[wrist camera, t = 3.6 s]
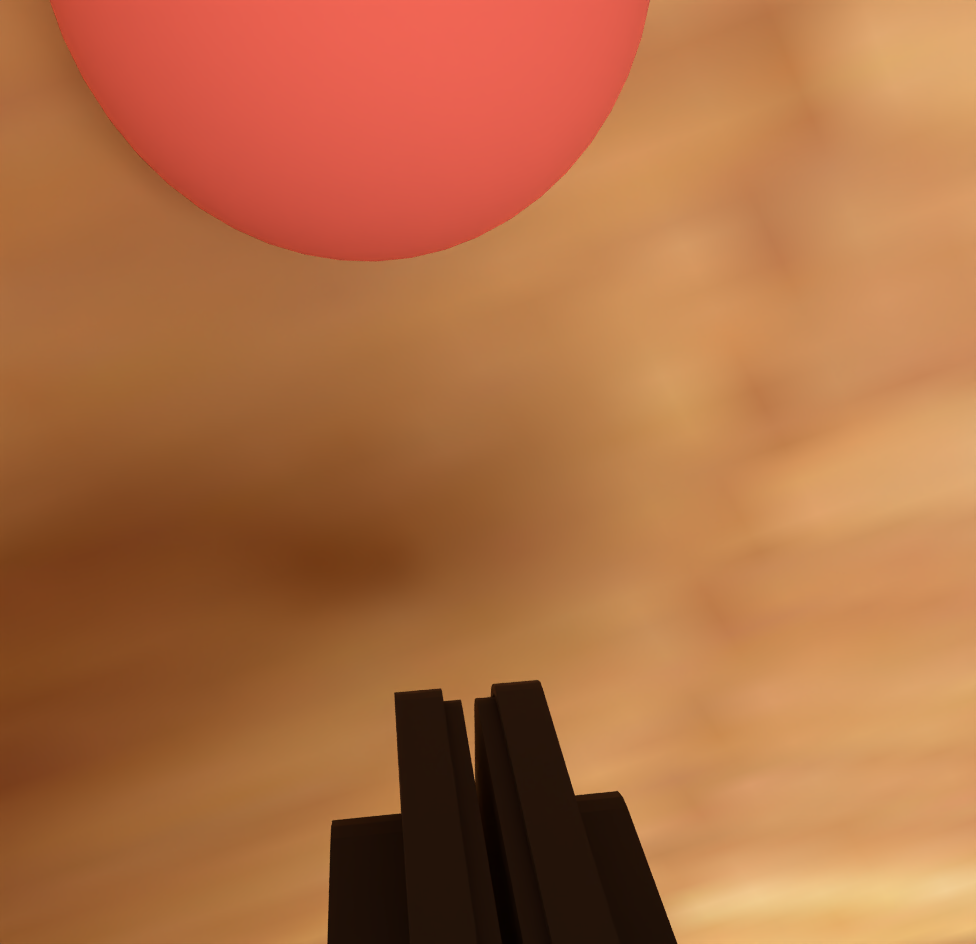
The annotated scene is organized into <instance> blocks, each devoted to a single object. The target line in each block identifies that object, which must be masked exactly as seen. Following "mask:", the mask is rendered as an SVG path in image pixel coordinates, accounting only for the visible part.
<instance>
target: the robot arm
mask: <svg viewBox="0 0 976 944" xmlns="http://www.w3.org/2000/svg"><path fill="white" fill-rule="evenodd" d="M394 695H395V713H396V731H397V749H398V766H399V784H400V801H401V814H391V815H381V816H372V817H362V818H352V819H342V820H333V821H332V826H331V844H330V878H329V911H328V944H677V941H676V939H675V936H674V933H673V931H672V928H671V925H670V922H669V920H668V917H667V914H666V911H665V909H664V906H663V903H662V901H661V898H660V895H659V892H658V890H657V887H656V884H655V882H654V879H653V876H652V873H651V871H650V868H649V865H648V862H647V860H646V857H645V854H644V852H643V849H642V846H641V843H640V841H639V838H638V835H637V832H636V830H635V827H634V824H633V822H632V819H631V816H630V813H629V811H628V808H627V806H626V803H625V801H624V799H623V797H622V796H621V794H620V793H619V792H618V791H615V792H605V793H595V794H585V795H576V796H575V794H574V791H573V788H572V784H571V781H570V778H569V774H568V771H567V768H566V764H565V761H564V758H563V755H562V751H561V748H560V745H559V741H558V738H557V735H556V731H555V728H554V725H553V721H552V718H551V715H550V711H549V708H548V705H547V701H546V698H545V695H544V691H543V688H542V686H541V683H540V681H539V680H534V681H522V682H511V683H499V684H493V685H492V687H491V697H487V698H476V699H475V703H474V717H475V780H474V774H473V768H472V762H471V756H470V750H469V744H468V738H467V732H466V726H465V720H464V714H463V708H462V703H461V700H453V701H443V695H442V690H441V689H430V690H419V691H407V692H396V693H394Z"/></svg>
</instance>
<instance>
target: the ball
mask: <svg viewBox="0 0 976 944" xmlns="http://www.w3.org/2000/svg"><path fill="white" fill-rule="evenodd" d="M649 2H650V0H50V3H51V5H52V8H53V11H54V14H55V17H56V19H57V22H58V25H59V28H60V31H61V33H62V36H63V38H64V40H65V42H66V44H67V47H68V49H69V51H70V53H71V55H72V57H73V59H74V61H75V63H76V65H77V67H78V69H79V71H80V73H81V75H82V77H83V79H84V81H85V82H86V84H87V85H88V87H89V88H90V90H91V91H92V93H93V95H94V96H95V98H96V99H97V101H98V102H99V104H100V105H101V107H102V109H103V110H104V112H105V113H106V115H107V116H108V118H109V119H110V121H111V122H112V123H113V124H114V126H115V127H116V128H117V129H118V131H119V132H120V133H121V134H122V135H123V137H124V138H125V139H126V140H127V142H128V143H129V144H130V145H131V147H132V148H133V149H134V150H135V151H136V153H137V154H138V155H139V156H140V157H141V158H142V159H143V160H144V161H145V162H146V163H147V164H148V165H149V166H150V167H151V168H152V169H153V170H155V171H156V172H157V173H158V174H159V175H160V176H161V177H162V178H163V179H164V180H165V181H166V182H167V183H168V184H169V185H170V186H172V187H173V188H174V189H176V190H177V191H178V192H180V193H181V194H182V195H184V196H185V197H186V198H187V199H189V200H190V201H191V202H193V203H194V204H195V205H197V206H198V207H199V208H201V209H202V210H204V211H206V212H207V213H209V214H211V215H212V216H214V217H216V218H217V219H219V220H221V221H222V222H224V223H226V224H227V225H229V226H231V227H233V228H234V229H237V230H239V231H241V232H243V233H246V234H248V235H250V236H252V237H255V238H257V239H259V240H262V241H264V242H266V243H268V244H271V245H275V246H278V247H282V248H285V249H288V250H292V251H295V252H298V253H302V254H306V255H312V256H318V257H324V258H330V259H336V260H351V261H384V260H394V259H404V258H412V257H416V256H420V255H425V254H429V253H433V252H437V251H441V250H445V249H448V248H451V247H453V246H456V245H458V244H461V243H464V242H466V241H469V240H471V239H474V238H477V237H479V236H480V235H482V234H484V233H486V232H488V231H490V230H491V229H493V228H495V227H497V226H499V225H501V224H503V223H504V222H506V221H508V220H510V219H511V218H513V217H514V216H515V215H517V214H518V213H519V212H521V211H522V210H524V209H525V208H526V207H528V206H529V205H530V204H532V203H533V202H535V201H536V200H537V199H539V198H540V197H541V196H542V195H543V194H544V193H545V192H546V191H548V190H549V189H550V188H551V187H552V186H553V185H554V184H555V183H556V182H557V181H558V180H559V179H560V178H561V177H562V176H563V175H564V174H566V173H567V171H568V170H569V169H570V168H571V167H572V165H573V164H574V163H575V162H576V160H577V159H578V158H579V157H580V156H581V154H582V153H583V152H584V151H585V150H586V148H587V147H588V146H589V145H590V143H591V142H592V140H593V139H594V137H595V136H596V134H597V132H598V131H599V129H600V128H601V126H602V125H603V123H604V122H605V120H606V118H607V117H608V115H609V114H610V112H611V110H612V108H613V106H614V104H615V102H616V100H617V98H618V96H619V94H620V92H621V90H622V87H623V85H624V83H625V81H626V79H627V77H628V75H629V72H630V69H631V66H632V63H633V60H634V58H635V55H636V52H637V49H638V46H639V43H640V40H641V37H642V33H643V29H644V24H645V20H646V15H647V11H648V6H649Z"/></svg>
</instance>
